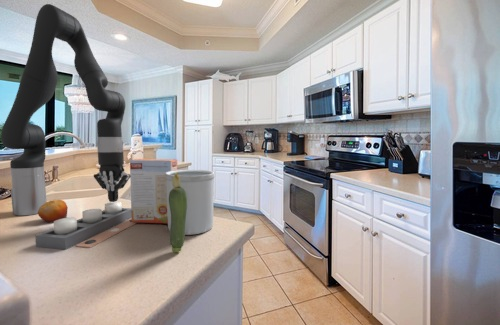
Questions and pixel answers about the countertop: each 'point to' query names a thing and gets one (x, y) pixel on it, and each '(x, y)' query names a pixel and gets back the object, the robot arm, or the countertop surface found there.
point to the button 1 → (65, 226)
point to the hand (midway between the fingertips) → (113, 201)
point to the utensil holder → (195, 199)
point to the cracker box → (150, 189)
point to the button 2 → (113, 208)
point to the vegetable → (177, 214)
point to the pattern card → (106, 234)
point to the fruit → (53, 210)
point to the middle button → (92, 215)
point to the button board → (81, 231)
